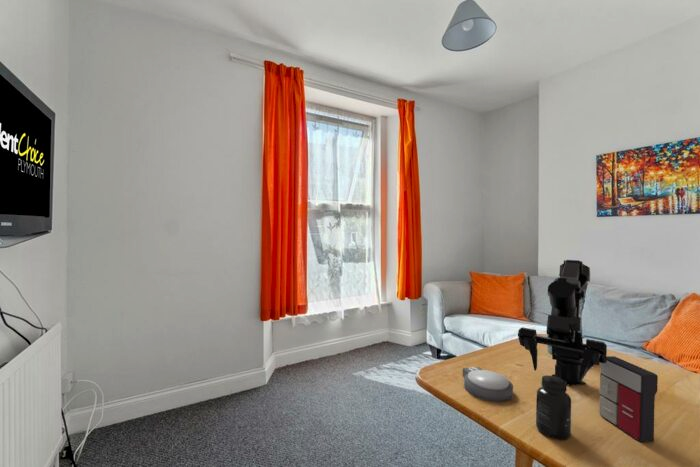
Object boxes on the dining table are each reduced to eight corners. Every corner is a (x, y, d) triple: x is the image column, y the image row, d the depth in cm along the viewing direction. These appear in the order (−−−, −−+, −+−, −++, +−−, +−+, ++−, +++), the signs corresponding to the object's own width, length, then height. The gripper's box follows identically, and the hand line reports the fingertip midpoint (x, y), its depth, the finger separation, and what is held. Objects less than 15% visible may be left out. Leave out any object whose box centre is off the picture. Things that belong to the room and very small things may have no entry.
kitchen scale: (489, 374, 104) (489, 363, 104) (523, 400, 88) (523, 387, 88) (451, 376, 102) (451, 365, 102) (479, 403, 86) (479, 390, 86)
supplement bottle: (576, 443, 70) (577, 388, 70) (542, 438, 72) (543, 384, 72) (562, 424, 77) (563, 374, 77) (531, 421, 79) (532, 371, 78)
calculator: (596, 414, 82) (597, 355, 82) (612, 414, 82) (613, 355, 82) (638, 443, 71) (640, 375, 71) (656, 442, 71) (658, 374, 71)
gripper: (520, 297, 88) (509, 348, 79) (607, 308, 76) (606, 369, 68) (525, 320, 94) (515, 370, 86) (606, 334, 82) (605, 393, 74)
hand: (556, 375), depth 78 cm, fingers open, 9 cm apart
